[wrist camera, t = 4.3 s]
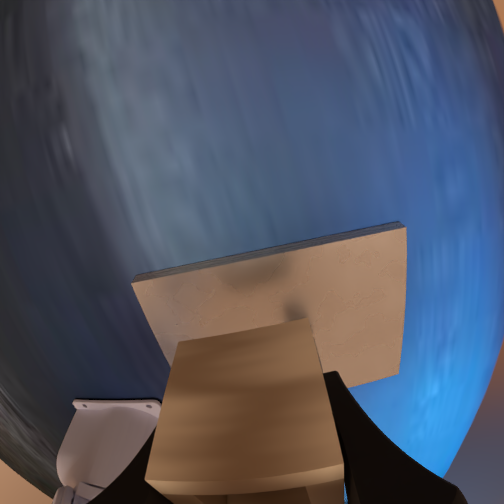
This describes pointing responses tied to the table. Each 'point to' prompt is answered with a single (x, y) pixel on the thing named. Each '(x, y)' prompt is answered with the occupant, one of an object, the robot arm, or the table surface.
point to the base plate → (294, 298)
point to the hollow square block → (247, 422)
